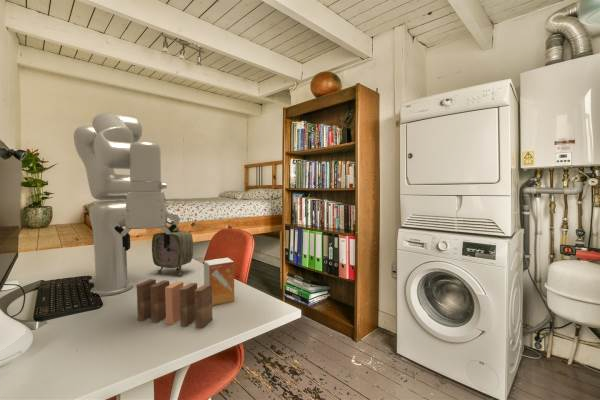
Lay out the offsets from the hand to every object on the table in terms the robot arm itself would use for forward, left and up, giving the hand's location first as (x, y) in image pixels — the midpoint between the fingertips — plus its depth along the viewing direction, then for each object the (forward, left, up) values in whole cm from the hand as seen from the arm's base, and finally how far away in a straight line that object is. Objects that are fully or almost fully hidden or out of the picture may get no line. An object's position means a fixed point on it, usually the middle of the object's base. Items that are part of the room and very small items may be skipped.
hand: (147, 248), depth 81 cm
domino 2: (+4, 0, -20) cm, 20 cm away
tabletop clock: (-19, +37, -20) cm, 46 cm away
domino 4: (+13, 0, -20) cm, 24 cm away
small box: (+14, +15, -20) cm, 28 cm away
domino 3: (+9, 0, -20) cm, 21 cm away
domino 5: (+18, 0, -20) cm, 26 cm away
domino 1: (0, 0, -20) cm, 20 cm away
